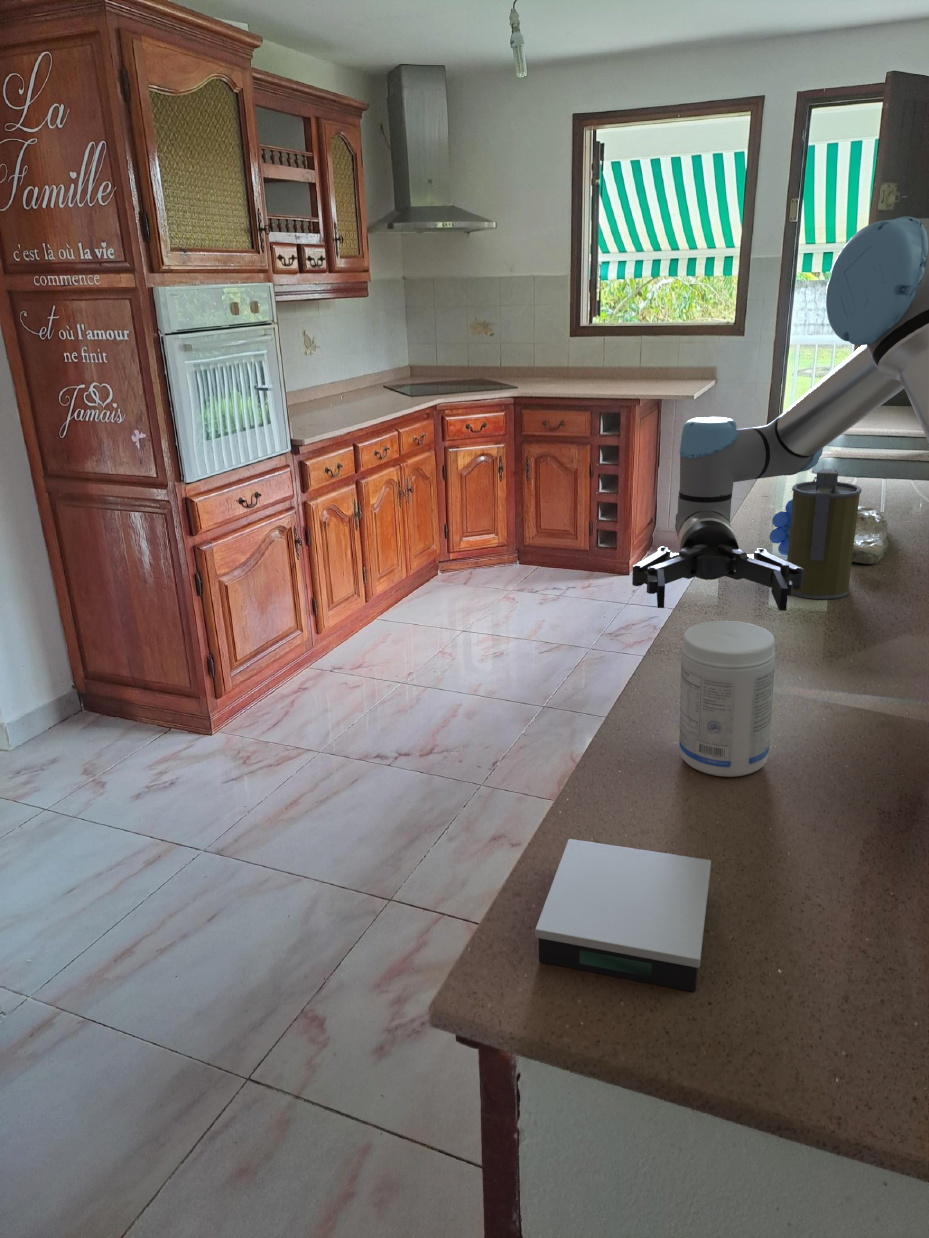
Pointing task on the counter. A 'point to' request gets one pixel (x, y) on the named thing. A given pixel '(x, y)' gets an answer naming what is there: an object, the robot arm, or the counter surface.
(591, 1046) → the counter surface
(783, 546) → the grapes
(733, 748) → the supplement tub
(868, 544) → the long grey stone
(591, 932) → the kitchen scale
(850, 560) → the canister
